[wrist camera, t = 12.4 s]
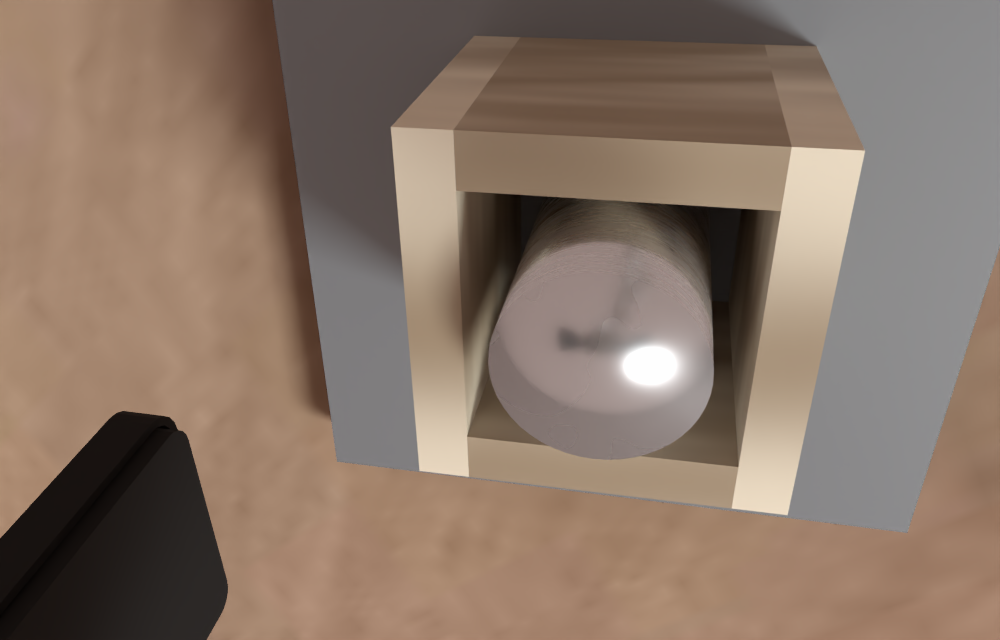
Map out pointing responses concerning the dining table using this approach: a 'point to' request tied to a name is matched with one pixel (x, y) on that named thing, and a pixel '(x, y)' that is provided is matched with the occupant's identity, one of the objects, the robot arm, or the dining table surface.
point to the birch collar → (634, 178)
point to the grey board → (869, 244)
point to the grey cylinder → (608, 327)
